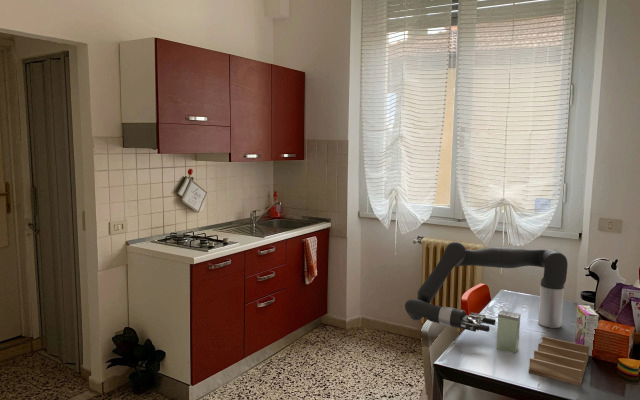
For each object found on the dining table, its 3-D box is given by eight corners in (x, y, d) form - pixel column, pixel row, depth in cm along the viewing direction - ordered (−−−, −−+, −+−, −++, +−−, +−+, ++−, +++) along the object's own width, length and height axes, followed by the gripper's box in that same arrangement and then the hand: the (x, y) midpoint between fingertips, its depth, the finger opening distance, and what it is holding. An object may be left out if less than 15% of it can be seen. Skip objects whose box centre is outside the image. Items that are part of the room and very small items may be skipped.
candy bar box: (573, 344, 195) (576, 304, 193) (586, 345, 194) (589, 305, 192) (582, 356, 184) (585, 314, 182) (596, 357, 183) (600, 315, 181)
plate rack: (541, 348, 190) (542, 335, 190) (588, 358, 182) (589, 345, 181) (528, 372, 170) (529, 359, 169) (580, 385, 161) (581, 371, 160)
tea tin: (499, 344, 194) (501, 310, 192) (518, 348, 190) (520, 314, 188) (496, 348, 189) (498, 314, 188) (515, 353, 186) (517, 317, 184)
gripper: (446, 313, 195) (487, 321, 186) (458, 303, 207) (497, 311, 198) (445, 331, 196) (486, 340, 187) (457, 320, 207) (496, 329, 198)
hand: (492, 325), depth 192 cm, fingers open, 8 cm apart
